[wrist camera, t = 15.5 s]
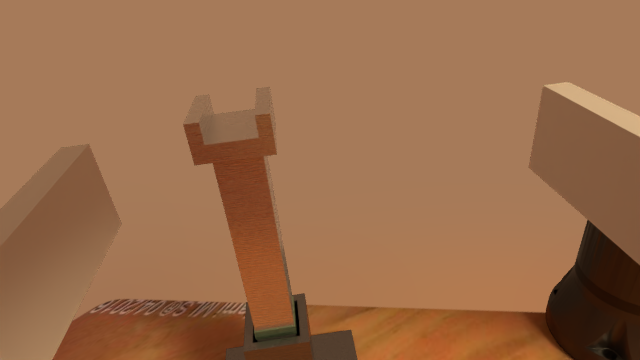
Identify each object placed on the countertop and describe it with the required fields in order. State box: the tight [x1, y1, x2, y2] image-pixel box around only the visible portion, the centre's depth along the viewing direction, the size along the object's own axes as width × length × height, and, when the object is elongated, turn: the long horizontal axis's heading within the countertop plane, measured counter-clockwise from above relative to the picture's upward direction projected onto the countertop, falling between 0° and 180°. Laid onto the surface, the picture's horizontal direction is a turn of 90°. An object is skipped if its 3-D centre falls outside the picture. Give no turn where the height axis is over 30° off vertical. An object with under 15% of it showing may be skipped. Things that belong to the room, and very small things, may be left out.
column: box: [183, 87, 299, 342], centre depth 37 cm, size 6×6×28 cm
